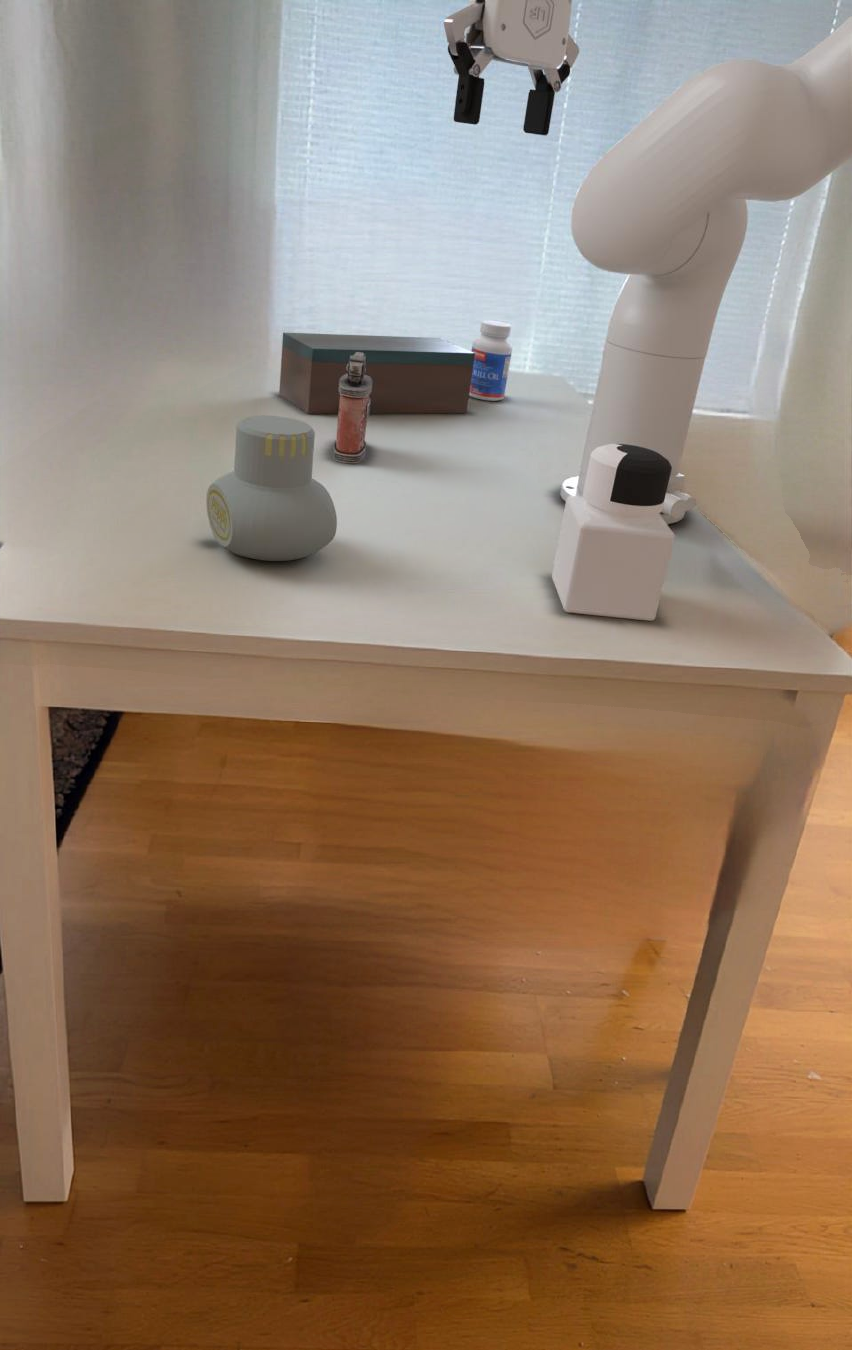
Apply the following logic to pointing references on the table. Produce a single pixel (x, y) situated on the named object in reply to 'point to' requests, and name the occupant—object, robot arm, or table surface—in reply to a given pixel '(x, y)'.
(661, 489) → the medicine bottle
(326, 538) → the air freshener
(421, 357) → the brown rectangular block
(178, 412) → the table surface
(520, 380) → the table surface
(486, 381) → the pill bottle
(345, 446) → the red smoke grenade
